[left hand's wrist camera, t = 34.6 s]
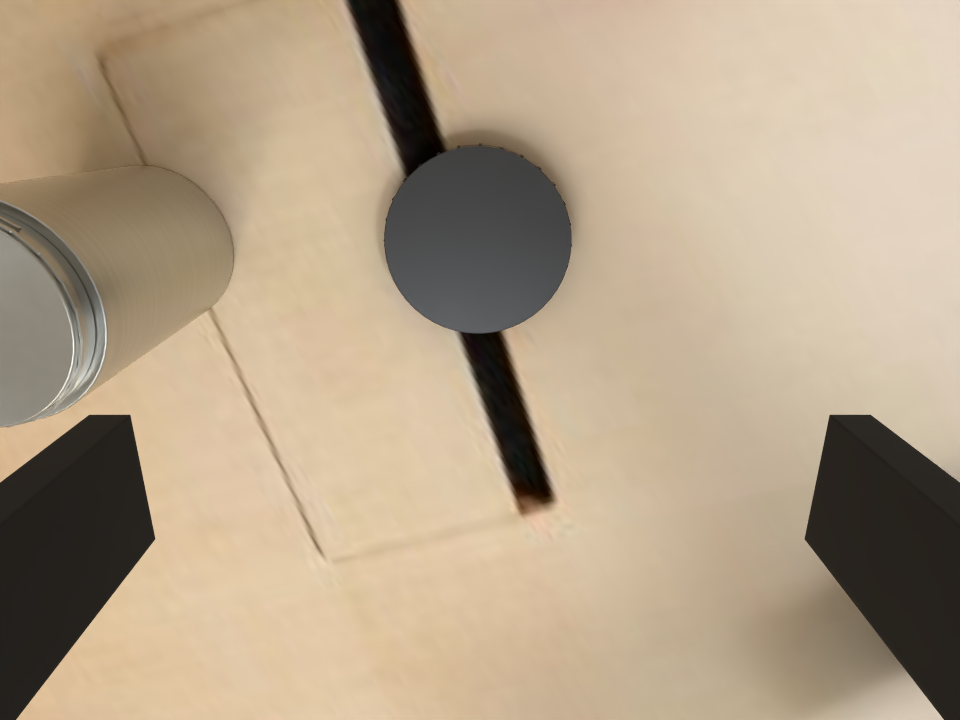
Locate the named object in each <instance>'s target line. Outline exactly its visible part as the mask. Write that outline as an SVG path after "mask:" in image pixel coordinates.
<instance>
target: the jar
mask: <svg viewBox="0 0 960 720" xmlns="http://www.w3.org/2000/svg"><path fill="white" fill-rule="evenodd" d="M233 261H234V253H233V244H232V239H231V235H230V232H229V229H228V226H227V224H226V222H225V220H224V217H223V216H222V214H221V212H220V211H219V209H218V208H217V206H216V205H215V204H214V202H213V201H212V200H211V199H210V198H209V197H208V196H207V194H206V193H205V192H204V191H203V190H201V189H200V188H199V187H198V186H196V185H195V184H194V183H193V182H191V181H189V180H188V179H186V178H185V177H183V176H181V175H179V174H177V173H175V172H172V171H169V170H166V169H163V168H159V167H154V166H145V165H136V166H126V167H118V168H111V169H104V170H96V171H89V172H82V173H74V174H67V175H60V176H53V177H45V178H38V179H31V180H23V181H16V182H9V183H1V184H0V427H12V426H16V425H19V424H23V423H27V422H31V421H35V420H37V419H42V418H46V417H49V416H52V415H55V414H57V413H59V412H61V411H63V410H65V409H67V408H69V407H71V406H72V405H73V404H75V403H76V402H78V401H79V400H81V399H82V398H83V397H85V396H86V395H88V394H89V393H90V392H92V391H93V390H95V389H96V388H98V387H99V386H100V385H102V384H103V383H105V382H106V381H107V380H109V379H110V378H112V377H113V376H115V375H116V374H117V373H119V372H120V371H122V370H123V369H125V368H126V367H127V366H129V365H130V364H132V363H133V362H134V361H136V360H137V359H139V358H140V357H142V356H143V355H144V354H146V353H147V352H149V351H150V350H151V349H153V348H154V347H156V346H157V345H159V344H160V343H161V342H163V341H164V340H166V339H167V338H168V337H170V336H171V335H173V334H174V333H176V332H177V331H178V330H180V329H181V328H183V327H184V326H186V325H187V324H188V323H190V322H191V321H193V320H194V319H195V318H197V317H198V316H200V315H201V314H203V313H204V312H205V311H207V310H208V309H210V308H211V307H212V306H213V305H214V304H215V303H216V302H217V301H218V300H219V299H220V297H221V296H222V295H223V293H224V292H225V290H226V288H227V286H228V284H229V281H230V278H231V275H232V270H233Z"/></svg>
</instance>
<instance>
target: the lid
mask: <svg viewBox="0 0 960 720" xmlns="http://www.w3.org/2000/svg"><path fill="white" fill-rule="evenodd" d="M418 166H419V167H418V168H417V169H416V170H415V171H414V172H413V173H412V174H411V175H410V176H409V177H408V178H406V179H405V180H404V181H403V182H404V183H403V184H402V186H401V187H400V189H399V190H398V192H397V194H396V196H395V197H394V198H393V199H392V200H393V202H392V204H391V207H390V209H389V212H388V216H387V218H386V226H385V233H384V246H385V254H386V260H387V263H388V267H389V270H390V273H391V275H392V278H393V280H394V282H395V284H396V286H397V287H398V289H399V291H400V292H401V294H402V295H403V296H404V298H405V299H406V300H407V301H408V302H409V303H410V305H411V306H412V307H413V308H414V309H415V310H417V311H418V312H419V313H420V314H422V315H423V316H424V317H426V318H427V319H429V320H431V321H432V322H434V323H436V324H438V325H441V326H443V327H445V328H448V329H452V330H455V331H460V332H465V333H491V332H496V331H501V330H505V329H507V328H510V327H513V326H515V325H518V324H520V323H522V322H524V321H525V320H527V319H528V318H530V317H531V316H533V315H534V314H536V313H537V312H538V311H539V310H540V309H541V308H543V307H544V305H545V304H546V303H547V302H548V301H549V300H550V299H551V298H552V296H553V295H554V293H555V292H556V291H557V289H558V287H559V285H560V284H561V282H562V280H563V278H564V275H565V272H566V270H567V267H568V263H569V258H570V252H571V246H572V244H571V228H570V225H571V223H570V221H569V217H568V214H567V210H566V207H565V205H566V204H565V202H564V201H563V200H562V198H561V196H560V194H559V193H558V191H557V189H556V188H555V186H556V185H555V184H554V183H553V182H551V181H550V180H549V179H548V178H547V176H546V175H545V174H544V173H543V172H541V171H540V170H541V168H540V167H539V166H538V167H536V166H535V165H534V164H532V163H531V162H529V161H528V160H526V159H525V158H523V155H521V154H520V156H519V155H518V154H516V153H514V152H511V151H508V150H505V149H503V147H500V148H498V147H493V146H485V145H481V144H480V143H479V145H471V146H462V147H460V145H459V146H457V148H453V149H450V150H448V151H445V152H442V153H440V152H438V153H437V155H436V156H434V157H433V158H431V159H429V160H428V161H426V162H425V163H424V164H422V163H421V164H419V165H418Z"/></svg>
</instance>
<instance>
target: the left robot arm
mask: <svg viewBox="0 0 960 720" xmlns="http://www.w3.org/2000/svg"><path fill="white" fill-rule="evenodd" d="M154 540H155V535H154V530H153V525H152V520H151V515H150V510H149V506H148V501H147V496H146V491H145V486H144V481H143V476H142V471H141V466H140V461H139V456H138V451H137V446H136V441H135V436H134V431H133V426H132V421H131V416H130V415H89V416H87V417H86V418H85V419H83V420H82V421H81V422H79V423H78V424H77V425H75V426H74V427H73V428H72V429H70V430H69V431H68V432H66V433H65V434H64V435H62V436H61V437H60V438H58V439H57V440H56V441H54V442H53V443H52V444H50V445H49V446H48V447H47V448H45V449H44V450H43V451H41V452H40V453H39V454H37V455H36V456H35V457H33V458H32V459H31V460H29V461H28V462H27V463H26V464H24V465H23V466H22V467H20V468H19V469H18V470H16V471H15V472H14V473H12V474H11V475H10V476H8V477H7V478H6V479H4V480H3V481H2V482H1V483H0V720H16V719H17V718H18V716H19V715H20V714H21V712H22V711H23V710H24V709H25V707H26V706H27V705H28V703H29V702H30V701H31V699H32V698H33V697H34V696H35V694H36V693H37V692H38V690H39V689H40V688H41V687H42V685H43V684H44V683H45V681H46V680H47V679H48V677H49V676H50V675H51V674H52V672H53V671H54V670H55V668H56V667H57V666H58V664H59V663H60V662H61V661H62V659H63V658H64V657H65V655H66V654H67V653H68V652H69V650H70V649H71V648H72V646H73V645H74V644H75V642H76V641H77V640H78V639H79V637H80V636H81V635H82V633H83V632H84V631H85V629H86V628H87V627H88V626H89V624H90V623H91V622H92V620H93V619H94V618H95V617H96V615H97V614H98V613H99V611H100V610H101V609H102V607H103V606H104V605H105V604H106V602H107V601H108V600H109V598H110V597H111V596H112V594H113V593H114V592H115V591H116V589H117V588H118V587H119V585H120V584H121V583H122V582H123V580H124V579H125V578H126V576H127V575H128V574H129V572H130V571H131V570H132V569H133V567H134V566H135V565H136V563H137V562H138V561H139V559H140V558H141V557H142V556H143V554H144V553H145V552H146V550H147V549H148V548H149V547H150V545H151V544H152V543H153V541H154ZM805 540H806V541H807V543H808V544H809V545H810V547H811V548H812V549H813V550H814V552H815V553H816V554H817V556H818V557H819V558H820V559H821V561H822V562H823V563H824V565H825V566H826V567H827V569H828V570H829V571H830V572H831V574H832V575H833V576H834V578H835V579H836V580H837V582H838V583H839V584H840V585H841V587H842V588H843V589H844V591H845V592H846V593H847V594H848V596H849V597H850V598H851V600H852V601H853V602H854V604H855V605H856V606H857V607H858V609H859V610H860V611H861V613H862V614H863V615H864V617H865V618H866V619H867V620H868V622H869V623H870V624H871V626H872V627H873V628H874V629H875V631H876V632H877V633H878V635H879V636H880V637H881V639H882V640H883V641H884V642H885V644H886V645H887V646H888V648H889V649H890V650H891V652H892V653H893V654H894V655H895V657H896V658H897V659H898V661H899V662H900V663H901V664H902V666H903V667H904V668H905V670H906V671H907V672H908V674H909V675H910V676H911V677H912V679H913V680H914V681H915V683H916V684H917V685H918V687H919V688H920V689H921V690H922V692H923V693H924V694H925V696H926V697H927V698H928V699H929V701H930V702H931V703H932V705H933V706H934V707H935V709H936V710H937V711H938V712H939V714H940V715H941V716H942V718H943V719H944V720H960V483H959V482H958V481H957V480H956V479H954V478H953V477H952V476H950V475H949V474H948V473H946V472H945V471H944V470H942V469H941V468H940V467H938V466H937V465H936V464H934V463H933V462H932V461H931V460H929V459H928V458H927V457H925V456H924V455H923V454H921V453H920V452H919V451H917V450H916V449H915V448H913V447H912V446H911V445H910V444H908V443H907V442H906V441H904V440H903V439H902V438H900V437H899V436H898V435H896V434H895V433H894V432H892V431H891V430H890V429H888V428H887V427H886V426H885V425H883V424H882V423H881V422H879V421H878V420H877V419H875V418H874V417H873V416H871V415H830V416H829V421H828V426H827V431H826V436H825V441H824V446H823V451H822V456H821V461H820V466H819V471H818V476H817V481H816V486H815V491H814V496H813V501H812V506H811V510H810V515H809V520H808V525H807V530H806V535H805Z"/></svg>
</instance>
